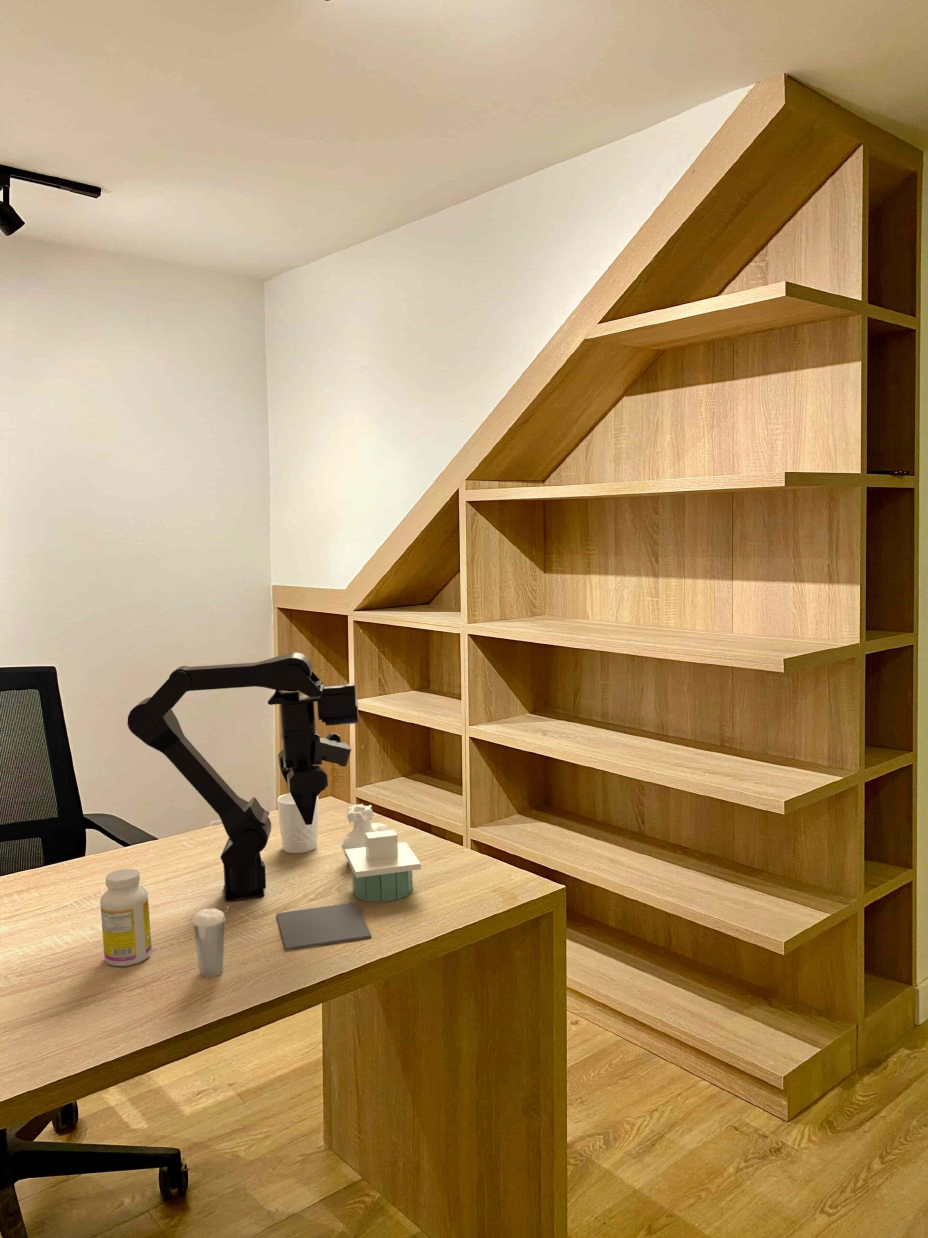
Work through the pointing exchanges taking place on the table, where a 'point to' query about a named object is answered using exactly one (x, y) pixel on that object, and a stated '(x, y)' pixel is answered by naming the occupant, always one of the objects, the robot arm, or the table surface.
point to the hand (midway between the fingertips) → (305, 816)
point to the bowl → (383, 886)
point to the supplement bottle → (125, 919)
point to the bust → (360, 826)
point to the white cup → (296, 827)
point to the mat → (322, 926)
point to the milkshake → (209, 941)
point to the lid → (381, 855)
